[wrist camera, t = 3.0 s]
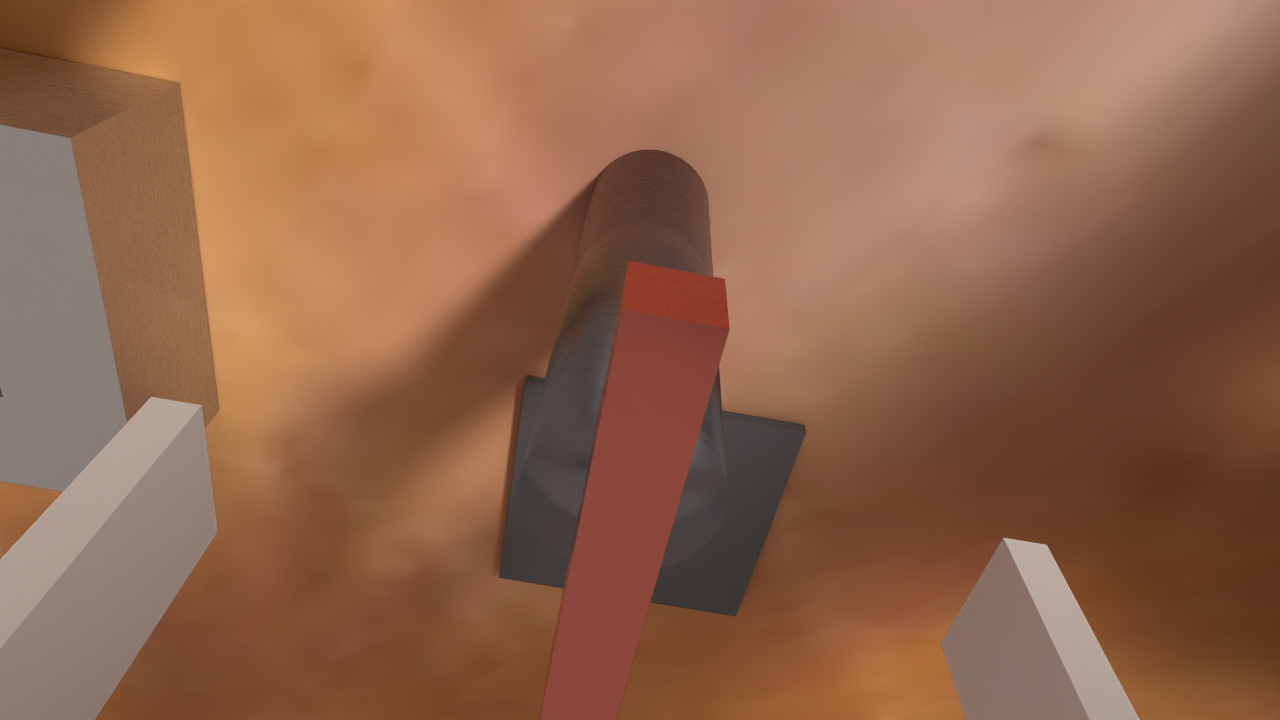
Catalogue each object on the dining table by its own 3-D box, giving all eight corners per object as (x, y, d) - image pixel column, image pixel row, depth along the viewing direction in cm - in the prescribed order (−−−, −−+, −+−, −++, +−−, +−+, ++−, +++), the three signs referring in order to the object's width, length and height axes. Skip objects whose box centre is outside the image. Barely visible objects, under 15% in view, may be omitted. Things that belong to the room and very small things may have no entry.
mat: (527, 375, 29) (525, 382, 28) (804, 425, 29) (805, 432, 29) (501, 570, 34) (499, 577, 34) (735, 608, 35) (735, 616, 34)
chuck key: (616, 43, 22) (536, 293, 10) (743, 70, 23) (811, 344, 11) (570, 321, 27) (481, 710, 15) (676, 340, 28) (670, 738, 16)
